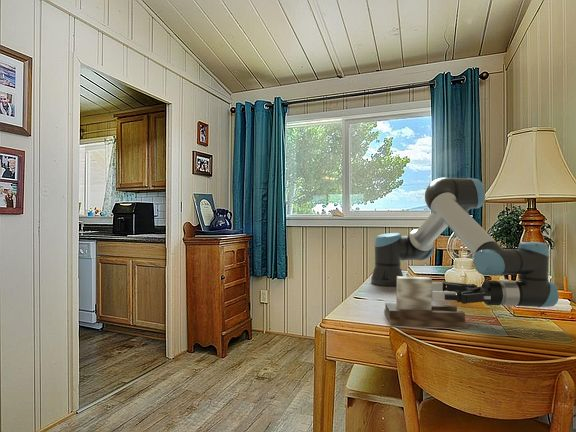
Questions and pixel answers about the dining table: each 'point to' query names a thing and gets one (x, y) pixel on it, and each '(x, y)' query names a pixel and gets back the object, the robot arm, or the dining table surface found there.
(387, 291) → the dining table surface
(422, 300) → the pale grey rectangular block
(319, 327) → the dining table surface
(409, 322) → the groove board
